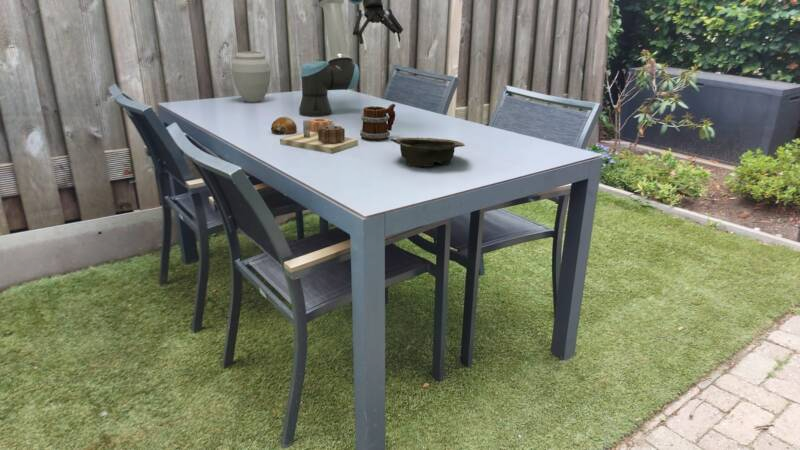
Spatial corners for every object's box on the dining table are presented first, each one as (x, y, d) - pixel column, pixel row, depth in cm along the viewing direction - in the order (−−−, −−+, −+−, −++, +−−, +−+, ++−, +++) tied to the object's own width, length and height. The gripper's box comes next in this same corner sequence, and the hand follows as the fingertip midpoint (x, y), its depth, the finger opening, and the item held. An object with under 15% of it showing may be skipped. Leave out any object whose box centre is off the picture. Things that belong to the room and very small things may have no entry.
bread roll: (298, 142, 228) (304, 123, 228) (278, 134, 220) (285, 114, 220) (283, 137, 235) (289, 119, 234) (264, 130, 227) (270, 111, 226)
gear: (303, 132, 227) (302, 120, 225) (318, 128, 235) (317, 116, 233) (322, 136, 223) (321, 123, 221) (336, 131, 230) (336, 119, 229)
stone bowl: (410, 174, 177) (410, 144, 174) (381, 160, 199) (380, 133, 196) (478, 166, 186) (478, 138, 183) (443, 153, 208) (443, 128, 205)
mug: (352, 136, 223) (357, 98, 218) (382, 138, 231) (388, 101, 227) (366, 142, 214) (373, 102, 209) (397, 144, 222) (404, 106, 218)
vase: (227, 103, 284) (222, 53, 275) (243, 97, 302) (239, 50, 293) (264, 105, 281) (260, 54, 272) (278, 99, 299) (275, 51, 290)
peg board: (280, 143, 209) (278, 122, 206) (307, 136, 222) (306, 115, 219) (332, 153, 198) (331, 131, 195) (357, 144, 211) (357, 123, 208)
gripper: (343, -6, 214) (353, 47, 212) (404, -7, 222) (414, 44, 220) (339, 4, 221) (349, 56, 219) (398, 3, 229) (408, 53, 227)
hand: (382, 50), depth 219 cm, fingers open, 13 cm apart
